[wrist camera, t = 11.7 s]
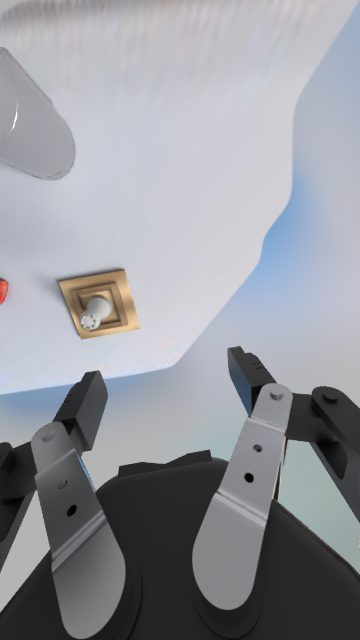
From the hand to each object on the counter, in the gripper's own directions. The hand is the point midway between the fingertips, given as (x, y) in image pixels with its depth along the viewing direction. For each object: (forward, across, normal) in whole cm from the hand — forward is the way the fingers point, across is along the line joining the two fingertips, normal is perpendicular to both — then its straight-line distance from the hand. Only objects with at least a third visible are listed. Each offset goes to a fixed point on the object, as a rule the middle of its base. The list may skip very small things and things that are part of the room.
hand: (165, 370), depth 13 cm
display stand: (+30, +13, +4) cm, 33 cm away
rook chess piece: (+29, +13, +4) cm, 32 cm away
